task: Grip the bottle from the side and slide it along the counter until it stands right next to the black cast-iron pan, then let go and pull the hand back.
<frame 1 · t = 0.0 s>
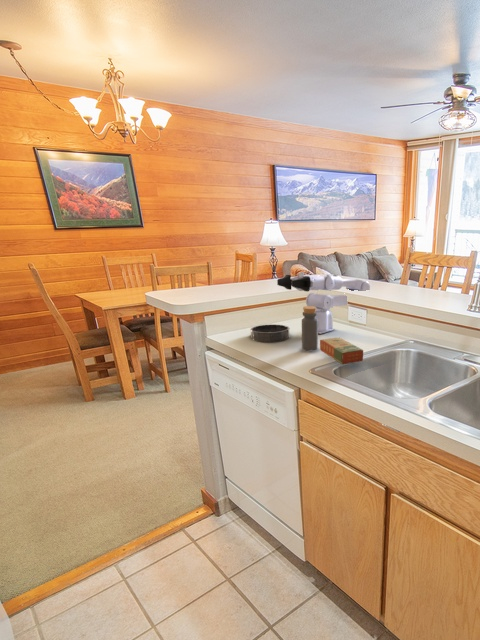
hand: (285, 283, 153), 22 cm above the table, tool horizontal, fingers open, 7 cm apart
carton: (340, 356, 141), on the table
bottle: (309, 348, 152), on the table
pan: (270, 338, 166), on the table
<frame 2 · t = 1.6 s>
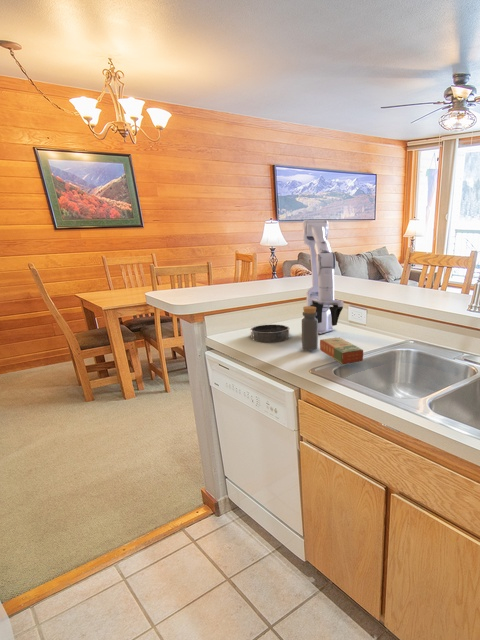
hand: (326, 324, 156), 7 cm above the table, tool pointing down, fingers open, 7 cm apart
nothing on the table moved.
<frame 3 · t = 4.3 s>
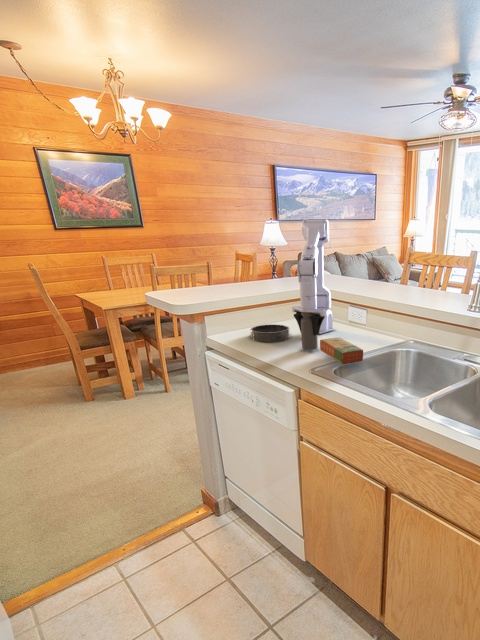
hand: (309, 333, 149), 5 cm above the table, tool pointing down, fingers closed on bottle, 6 cm apart
bottle: (309, 348, 152), on the table, touching gripper
everything else where it was.
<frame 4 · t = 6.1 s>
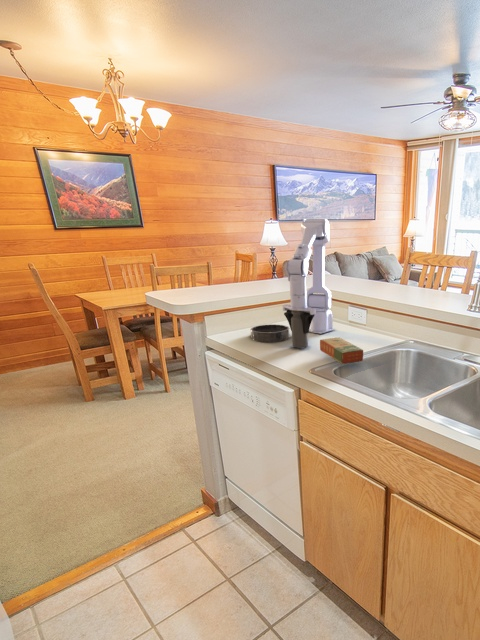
hand: (299, 331, 152), 6 cm above the table, tool pointing down, fingers closed on bottle, 6 cm apart
bottle: (300, 346, 154), on the table, touching gripper
everything else where it was.
when the fingers open (5 cm above the table, at t = 8.3 s): bottle stays where it is, on the table.
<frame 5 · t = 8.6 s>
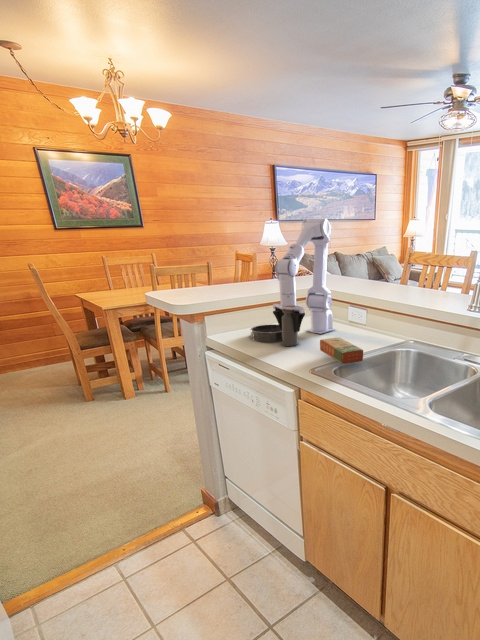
hand: (289, 330, 155), 5 cm above the table, tool pointing down, fingers open, 7 cm apart
bottle: (290, 344, 157), on the table
everything else where it was.
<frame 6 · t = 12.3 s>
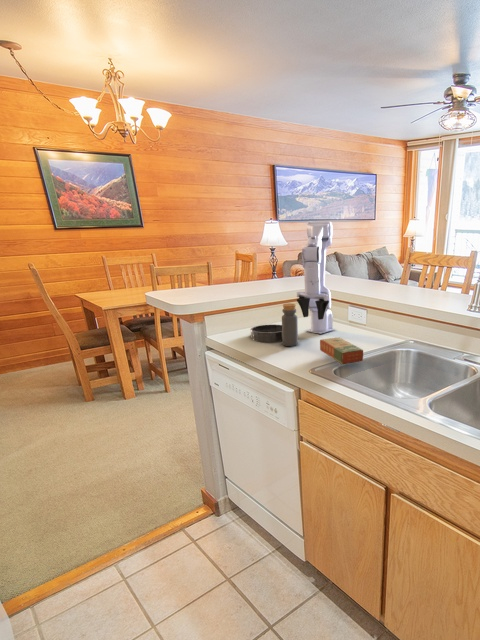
hand: (313, 318, 157), 9 cm above the table, tool pointing down, fingers open, 7 cm apart
nothing on the table moved.
at the end: bottle 13.1 cm from the pan (horizontally); bottle moved 10.0 cm from its start; bottle tilted 3° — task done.
